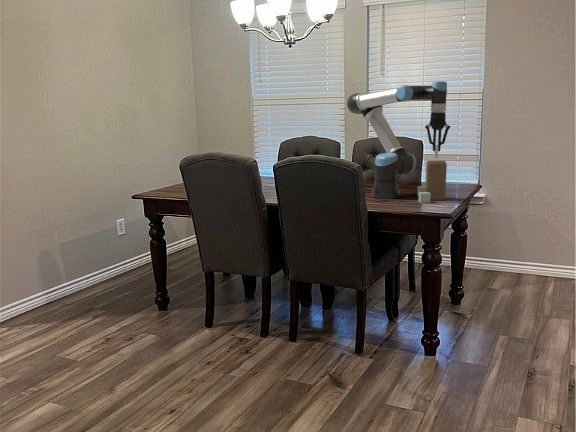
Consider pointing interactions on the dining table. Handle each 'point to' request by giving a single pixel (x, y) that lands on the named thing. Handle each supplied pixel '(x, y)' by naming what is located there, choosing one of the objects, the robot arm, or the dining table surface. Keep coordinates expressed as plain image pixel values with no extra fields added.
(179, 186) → the dining table surface
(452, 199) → the dining table surface
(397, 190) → the robot arm
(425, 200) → the sage cube
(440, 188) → the wooden block
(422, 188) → the cream cube
